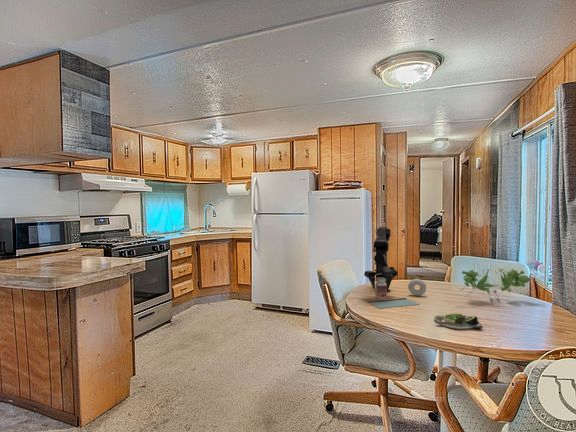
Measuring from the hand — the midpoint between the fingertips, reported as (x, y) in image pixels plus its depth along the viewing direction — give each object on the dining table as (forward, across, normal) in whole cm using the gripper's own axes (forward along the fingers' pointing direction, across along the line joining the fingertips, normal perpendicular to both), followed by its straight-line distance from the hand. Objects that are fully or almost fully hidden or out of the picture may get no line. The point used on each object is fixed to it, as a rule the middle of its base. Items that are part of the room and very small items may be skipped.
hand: (381, 288), depth 189 cm
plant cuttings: (+6, +54, -23) cm, 59 cm away
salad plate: (+6, +10, -48) cm, 49 cm away
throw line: (+6, 0, -6) cm, 9 cm away
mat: (+6, 0, -14) cm, 15 cm away
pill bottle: (+6, 0, 0) cm, 6 cm away
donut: (+6, +22, -3) cm, 23 cm away
